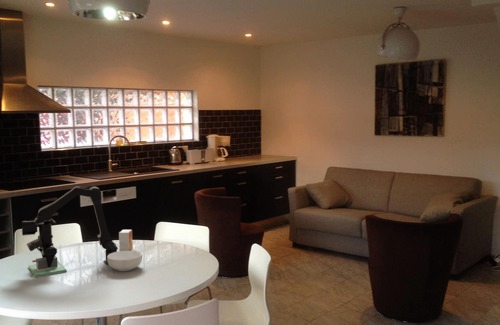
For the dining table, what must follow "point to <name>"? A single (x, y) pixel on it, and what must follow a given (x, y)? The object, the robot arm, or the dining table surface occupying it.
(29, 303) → the dining table surface
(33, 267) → the pin board
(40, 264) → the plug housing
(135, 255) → the cereal bowl
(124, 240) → the small box
